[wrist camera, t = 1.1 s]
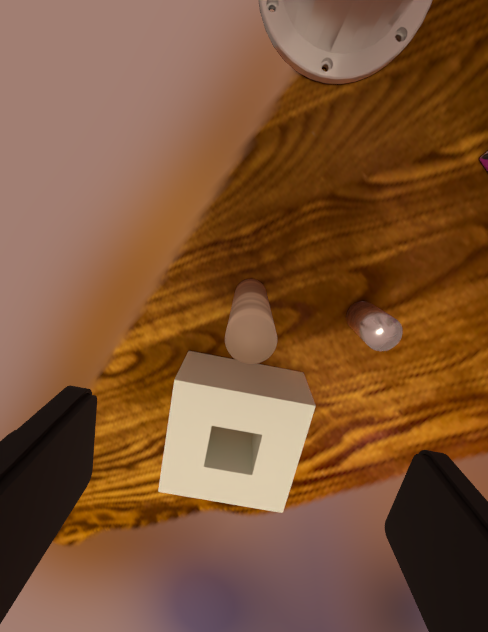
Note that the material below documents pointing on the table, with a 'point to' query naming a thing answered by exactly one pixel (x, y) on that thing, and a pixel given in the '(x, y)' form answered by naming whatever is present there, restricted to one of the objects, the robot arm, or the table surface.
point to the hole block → (235, 432)
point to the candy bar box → (484, 160)
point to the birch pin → (250, 324)
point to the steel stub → (374, 326)
